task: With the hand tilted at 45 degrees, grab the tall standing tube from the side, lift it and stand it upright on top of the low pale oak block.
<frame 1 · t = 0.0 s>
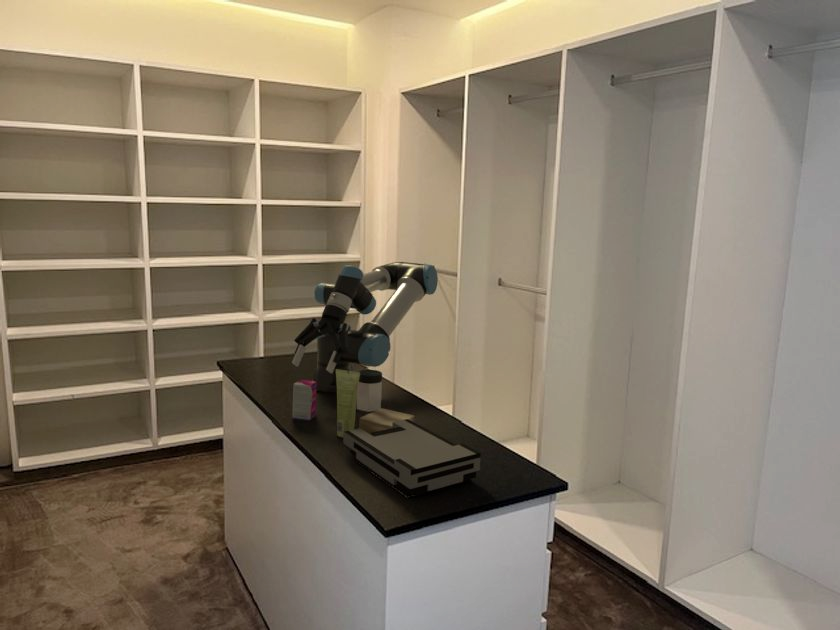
hand: (311, 368, 199), 15 cm above the table, tool tilted 35°, fingers open, 13 cm apart
oak block: (386, 429, 191), on the table
jar: (368, 408, 211), on the table
supplement box: (304, 418, 199), on the table
game console: (408, 470, 164), on the table
tube: (346, 436, 185), on the table
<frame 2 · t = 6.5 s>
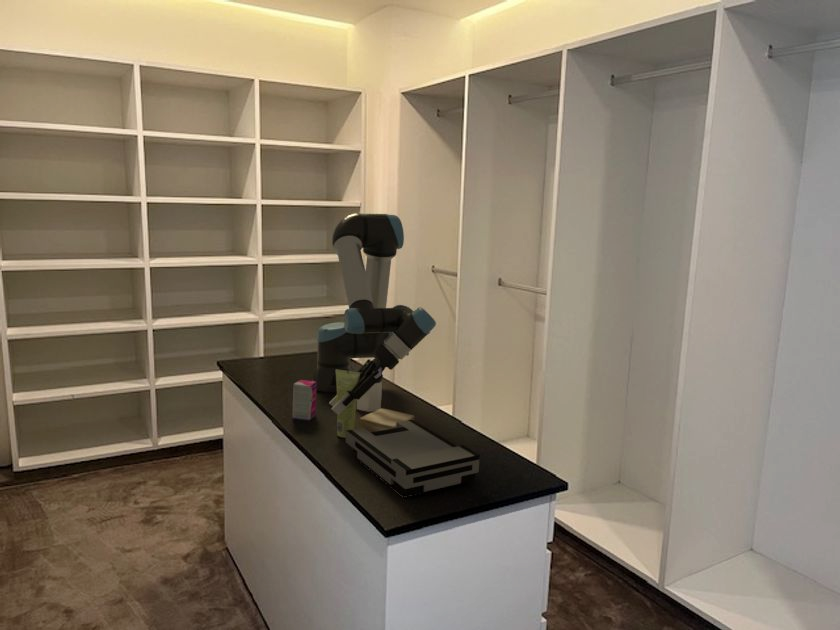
hand: (333, 408, 183), 8 cm above the table, tool tilted 45°, fingers closed on tube, 5 cm apart
tube: (346, 436, 185), on the table, touching gripper
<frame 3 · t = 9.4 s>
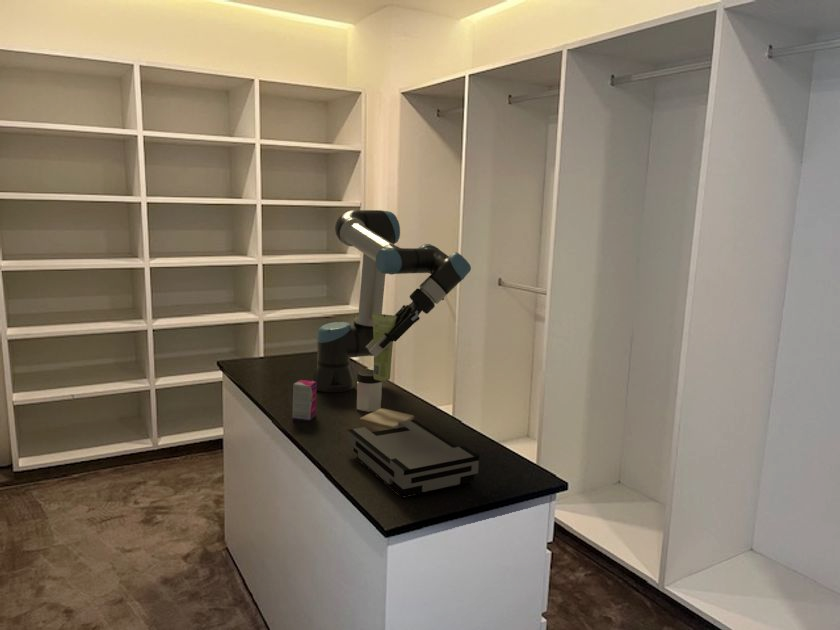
hand: (370, 352, 186), 24 cm above the table, tool tilted 45°, fingers closed on tube, 5 cm apart
tube: (382, 379, 188), point 16 cm above the table, touching gripper
everything else where it was.
when the fingers open (14 cm above the table, at t = 12.3 s): tube drops 1 cm, resting on oak block.
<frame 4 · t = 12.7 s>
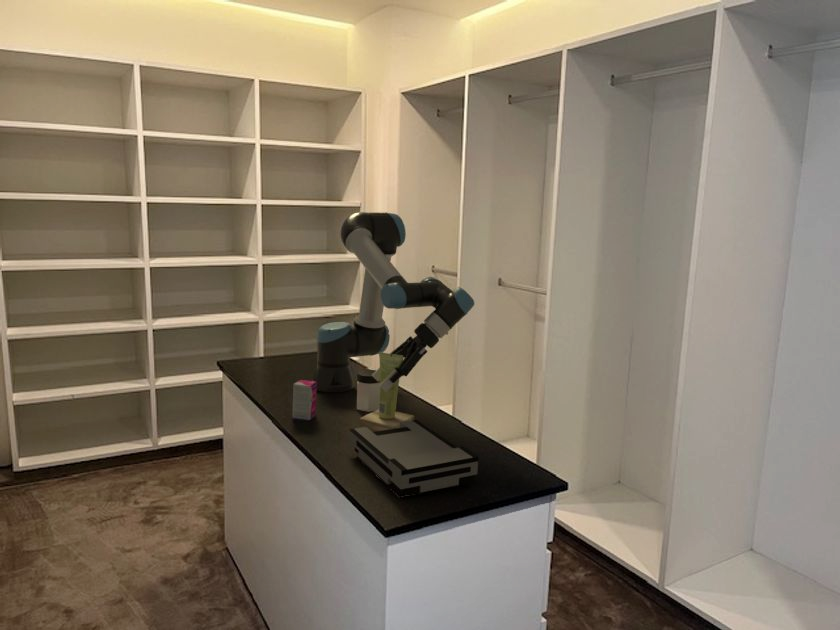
hand: (378, 383, 188), 15 cm above the table, tool tilted 45°, fingers open, 10 cm apart
tube: (387, 417, 191), point 4 cm above the table, touching oak block
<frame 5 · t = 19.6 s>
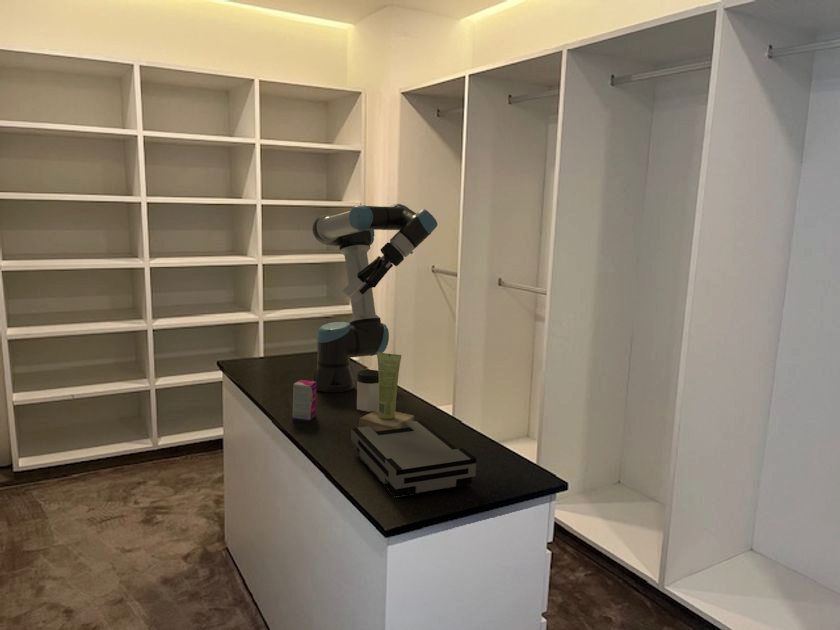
hand: (348, 296, 200), 38 cm above the table, tool tilted 45°, fingers open, 13 cm apart
at the end: tube inside the target area (0.1 cm from its centre), point 3.8 cm above the table; tube tilted 1°; the gripper is holding nothing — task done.
